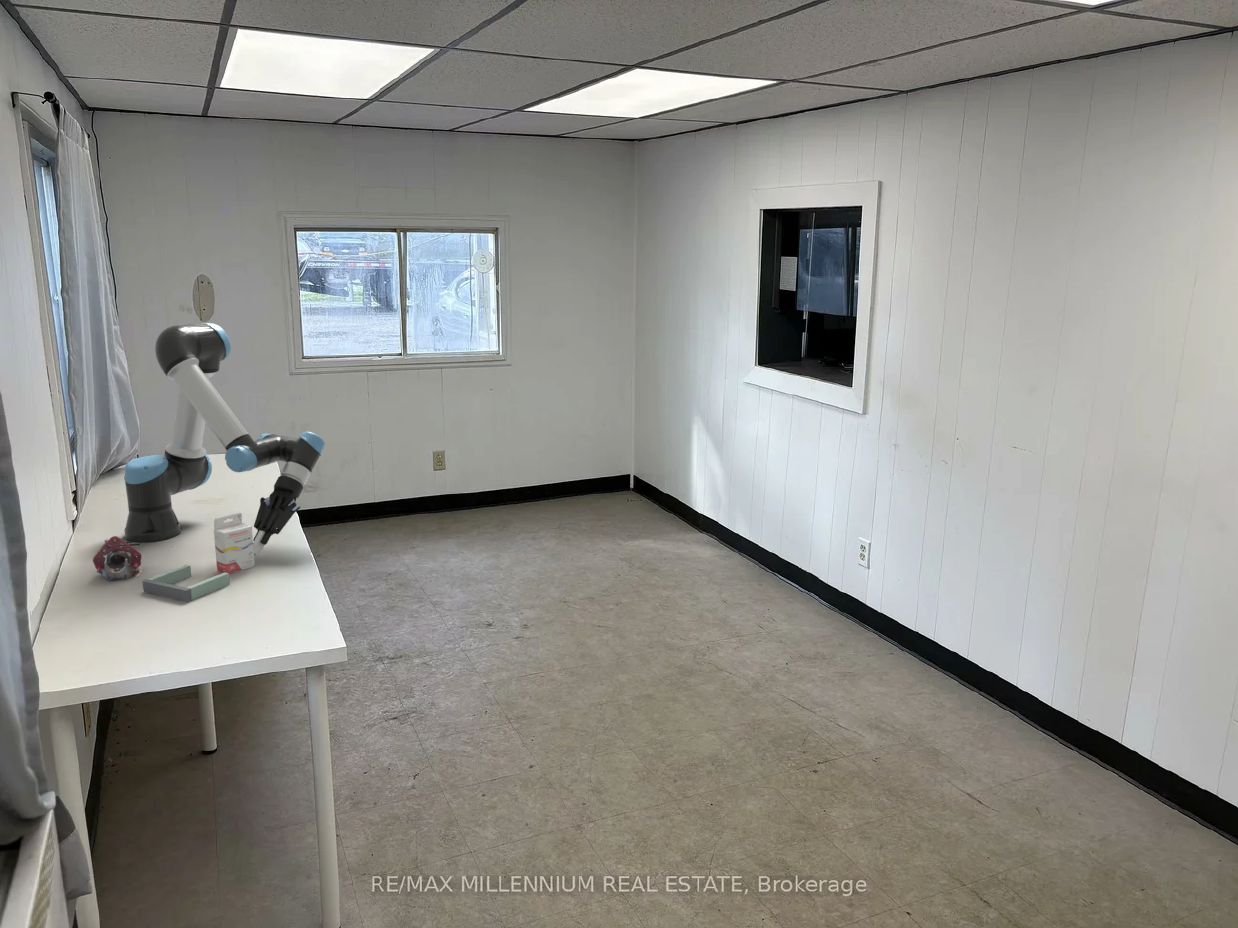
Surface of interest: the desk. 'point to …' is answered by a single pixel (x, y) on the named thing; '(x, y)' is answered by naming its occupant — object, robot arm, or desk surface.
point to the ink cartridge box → (233, 544)
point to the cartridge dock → (164, 586)
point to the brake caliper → (117, 560)
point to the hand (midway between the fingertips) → (253, 553)
